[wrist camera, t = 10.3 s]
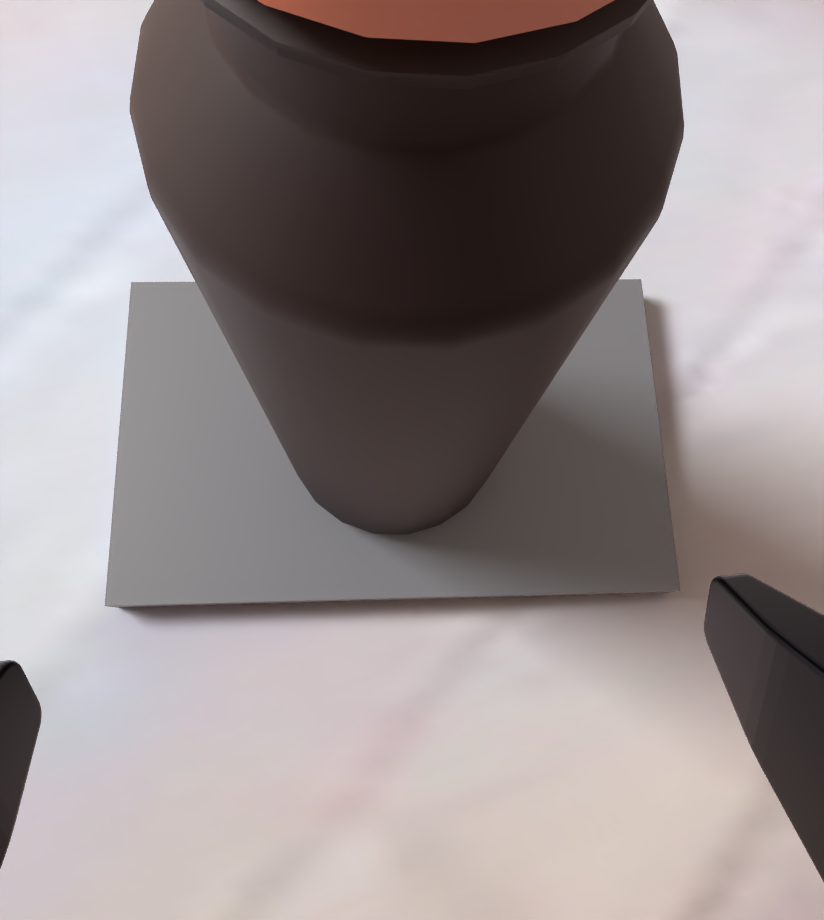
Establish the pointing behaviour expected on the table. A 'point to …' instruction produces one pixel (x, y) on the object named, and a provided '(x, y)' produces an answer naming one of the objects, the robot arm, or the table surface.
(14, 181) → the table surface
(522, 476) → the gray board
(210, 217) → the vinegar
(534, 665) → the table surface
